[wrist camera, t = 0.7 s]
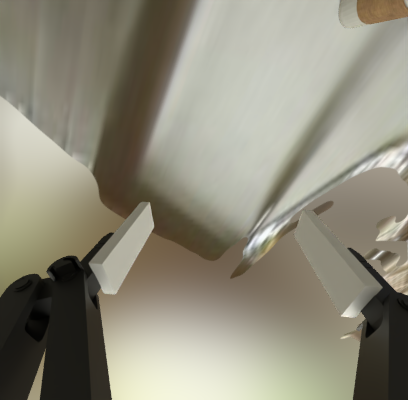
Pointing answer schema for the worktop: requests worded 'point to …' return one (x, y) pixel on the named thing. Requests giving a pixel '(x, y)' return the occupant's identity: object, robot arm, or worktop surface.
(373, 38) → the worktop surface
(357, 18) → the coffee cup
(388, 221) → the worktop surface
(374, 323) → the robot arm
